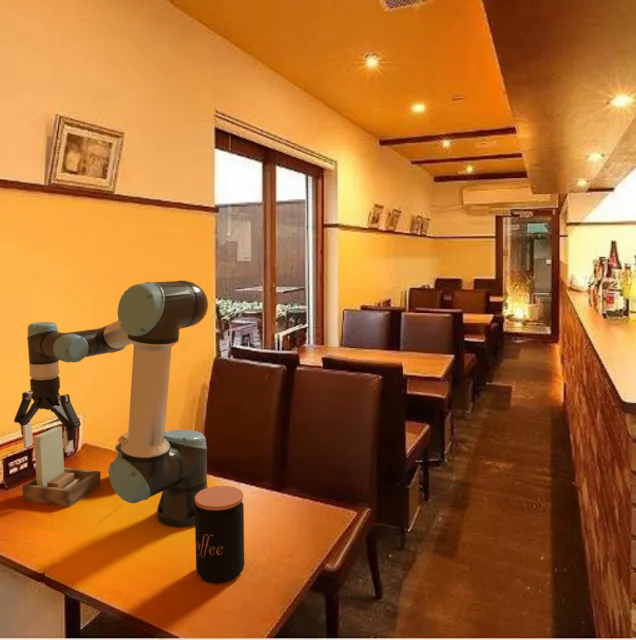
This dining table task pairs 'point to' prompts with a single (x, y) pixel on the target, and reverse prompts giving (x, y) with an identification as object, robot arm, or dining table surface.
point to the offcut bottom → (73, 483)
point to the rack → (60, 495)
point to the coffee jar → (219, 533)
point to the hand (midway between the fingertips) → (48, 448)
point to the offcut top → (61, 480)
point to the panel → (48, 455)
